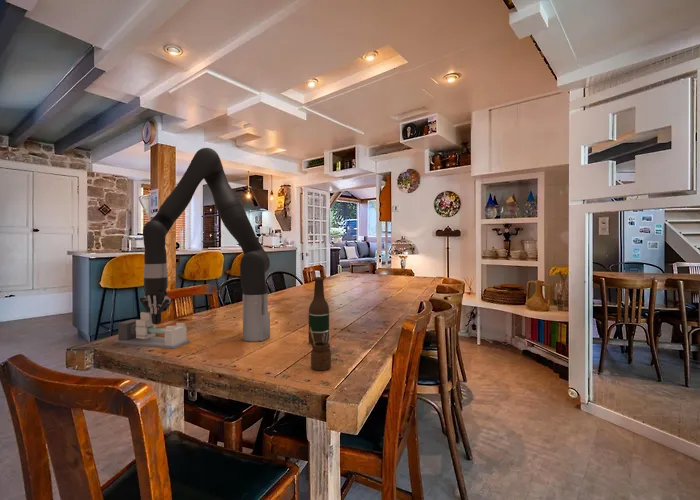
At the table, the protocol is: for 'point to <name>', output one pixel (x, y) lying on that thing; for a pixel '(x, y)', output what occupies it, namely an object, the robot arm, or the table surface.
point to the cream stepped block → (144, 326)
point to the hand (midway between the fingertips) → (156, 323)
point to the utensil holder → (320, 354)
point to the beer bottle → (319, 314)
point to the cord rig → (172, 336)
